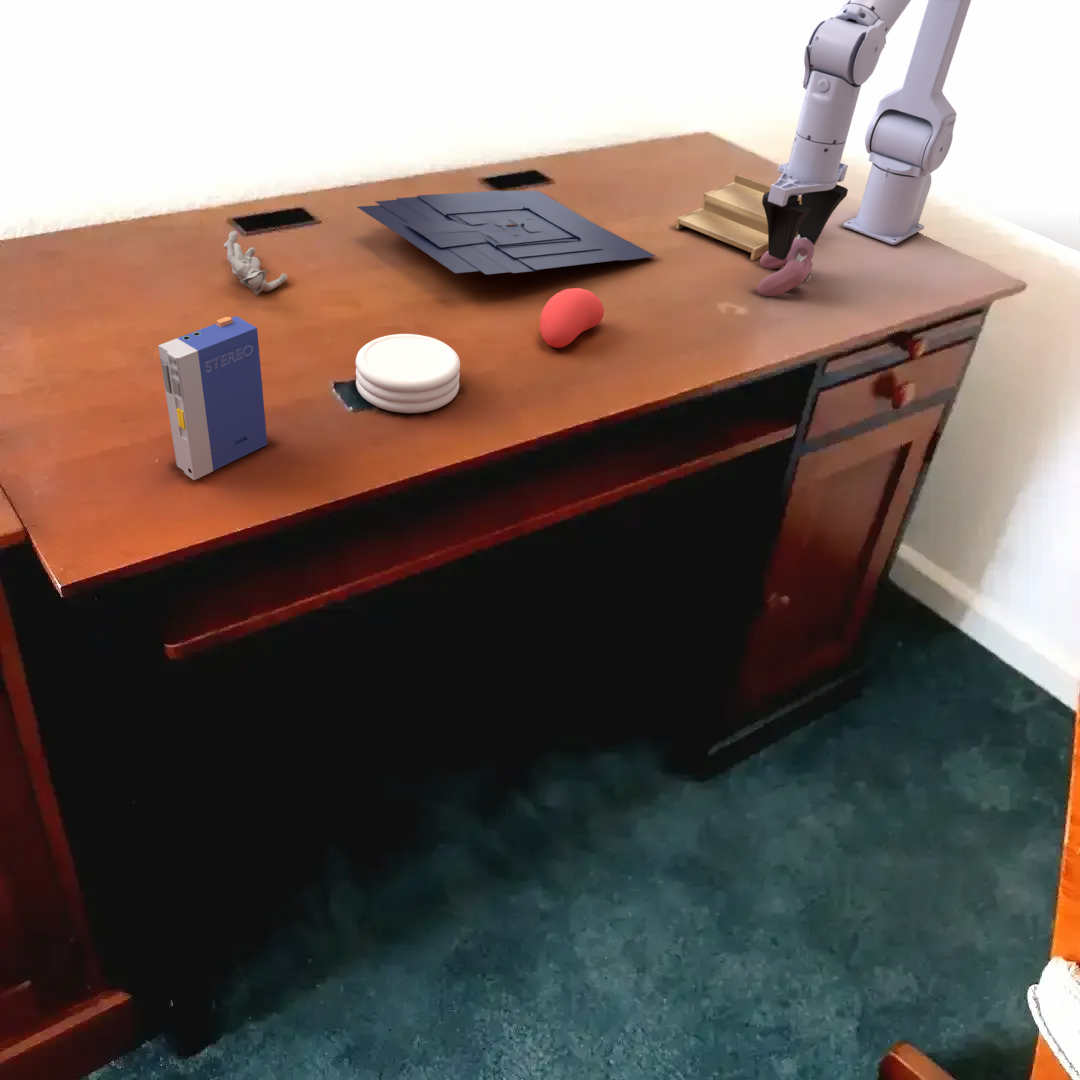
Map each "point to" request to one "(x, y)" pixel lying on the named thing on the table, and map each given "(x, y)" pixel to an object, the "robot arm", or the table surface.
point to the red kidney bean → (569, 316)
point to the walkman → (214, 395)
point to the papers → (500, 231)
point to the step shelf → (734, 215)
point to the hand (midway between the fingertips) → (791, 249)
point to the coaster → (407, 373)
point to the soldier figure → (249, 267)
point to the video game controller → (787, 268)
